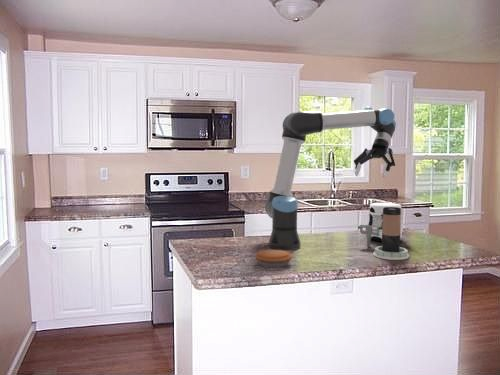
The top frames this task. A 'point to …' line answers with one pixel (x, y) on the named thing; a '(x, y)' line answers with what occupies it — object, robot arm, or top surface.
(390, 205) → the milk container
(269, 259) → the pie
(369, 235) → the mechanical component
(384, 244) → the travel mug
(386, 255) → the pale green round dish
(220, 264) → the top surface
